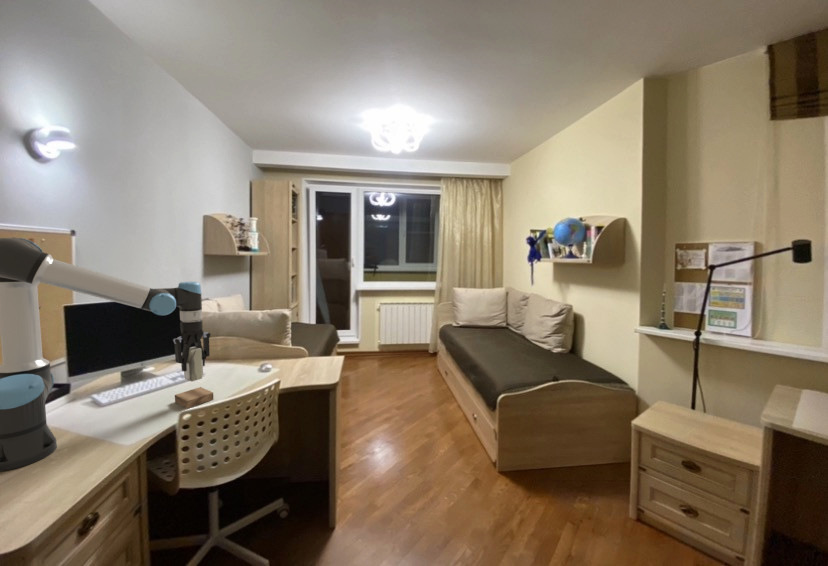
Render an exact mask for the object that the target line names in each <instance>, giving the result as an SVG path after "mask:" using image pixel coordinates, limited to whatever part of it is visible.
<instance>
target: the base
mask: <svg viewBox="0 0 828 566" xmlns="http://www.w3.org/2000/svg"><path fill="white" fill-rule="evenodd" d="M213 400H214V392H212V391H211V390H208V389H206V388H204V387H201V386H199V387H196V388H193V389H189V390H186V391H183V392H180V393H176V394H174V402H175V403H176V404H178V405H180V406H182V407H184V408H186V409H190V408H193V407H197V406H199V405H201V404H202V405H203V404H205V403H208V402H211V401H213Z"/></svg>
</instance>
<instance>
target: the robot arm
mask: <svg viewBox="0 0 828 566" xmlns="http://www.w3.org/2000/svg"><path fill="white" fill-rule="evenodd" d="M41 283H42V284H45V285H49V286H53V287H57V288H60V289H64V290H68V291H73V292H76V293H80V294H84V295H88V296H92V297H94V298H99V299H104V300H106V301H107V300H108V301H111V302H113V303H114V302H115V303H118V304H122V305H125V306H130V307H134V308H137V309H141V310H145V311H148V312H152V313H153V314H154V315H157V316H167V315H170V314H171V313H173V312H174V311H175V310H176V308H179V320H180V323H179V326H180V335H179V336H178V337H177V338H176V337H175V338H173V339H172V342H173V344H174V355H175V356H174V358H175V362H176V363H178V364H181V371H182V372H183V378H184V379H185V378H186V379H190V372H189V363H187V359H188V354H189V349H190V348H191V347H192V346H191V345H192V344H194V345H195V347H197V348H201V350H202V376H204V367H205V366H206V361H205V360H206V359H207V358H208V357H210V354H211V353H210V352H211V351H210V337H211V333H210V332H206V331H205V332H204V330H203V328H204V327H203V326H204V325H203V323H204V322H203V320H202V319H203V307H202V305H203V304H202V303H203V301H202V297H203V296H202V295H203V294H202V288H201V287H202V286H201V283H199V282H197V281H183V282H181V281H180V282H179V283H178V285H177V287H168V288H167V287H165V288H164V287H163V288H151V287H148V286H144V285H141V284H138V283H135V282H131V281H128V280H124V279H121V278H117V277H115V276H111V275H108V274H104V273H102V272H98V271H94V270H91V269H87V268H84V267H81V266H78V265H75V264H71V263H69V262H64V261H62V260H58V259H55V258H53V256H52V255H51V254H50V253H47V252H44V251H43V249H41V247H40V246H39V245H37V243H35V242H33V241H31V240H28V239H26V238H22V237H21V238H20V237H19V238H18V237H0V347H1V358H2V363H1V364H0V472H6V471H11V470H15V469H18V468H21V467H25V466H28V465H31V464H33V463H36V462H38V461H40V460H43V459H44V458H46V457H48V456H49V455H51V454H52V453H54V451H55V450H56V449H57V447H58V444H57V439H56V436H55V435H54V434H53V432H52V430H51V429H50V427H49V426H48V424H47V413H46V412H47V409H46V400H47V398H48V396H49V394H50V393H51V391H52V389H53V387H54V384H55V383H54V382H55V377H54V376H53V375H54V374H53V373H52V372H51V361H50V360H48V359H45V358H44V357H43V344H42V329H41V317H40V304H39V294H38V293H39V291H38V290H39V289H38V286H39V285H40V284H41ZM201 339H202V340H201ZM182 341H183V345H182ZM202 341H203V342H202ZM202 344H203V345H202ZM182 346H183V348H182ZM186 379H185V380H186Z"/></svg>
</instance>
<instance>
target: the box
mask: <svg viewBox="0 0 828 566" xmlns="http://www.w3.org/2000/svg"><path fill="white" fill-rule="evenodd" d="M187 363H189V372H190V379H186V378H184V379H185V380H186V381H188V382H195V381H198V380H201V379H203V375H202V350H201V348H197V347H196V346H190V349H189V354H188V359H187Z"/></svg>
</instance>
